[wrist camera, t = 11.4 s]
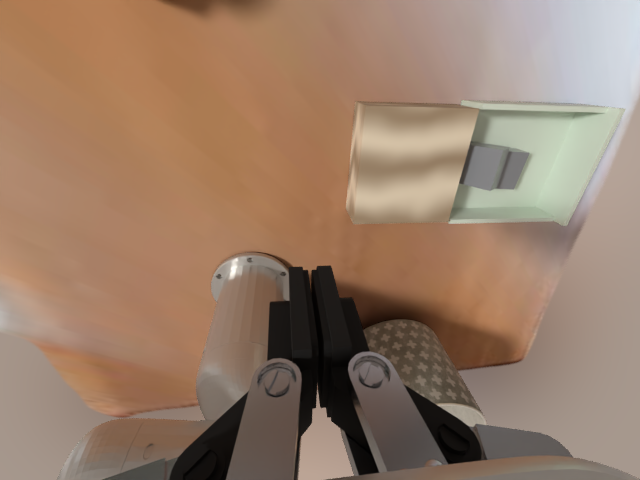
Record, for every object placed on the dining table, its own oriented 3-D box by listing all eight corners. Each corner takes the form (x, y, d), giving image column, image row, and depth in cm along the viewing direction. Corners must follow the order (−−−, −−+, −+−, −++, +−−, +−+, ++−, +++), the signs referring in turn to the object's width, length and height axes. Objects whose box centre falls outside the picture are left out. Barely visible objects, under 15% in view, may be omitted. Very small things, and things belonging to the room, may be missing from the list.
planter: (448, 316, 56) (514, 410, 40) (404, 379, 64) (444, 477, 49) (358, 298, 51) (393, 398, 36) (323, 369, 60) (338, 475, 44)
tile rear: (480, 187, 40) (470, 181, 42) (513, 189, 40) (502, 183, 43) (494, 150, 37) (483, 145, 39) (529, 152, 38) (516, 148, 40)
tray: (534, 208, 46) (566, 226, 41) (434, 210, 44) (455, 228, 39) (579, 103, 39) (625, 108, 34) (461, 100, 37) (491, 104, 32)
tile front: (451, 181, 40) (459, 177, 41) (490, 191, 37) (497, 186, 38) (460, 143, 37) (468, 140, 39) (503, 150, 34) (510, 147, 36)
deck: (431, 207, 44) (448, 222, 40) (345, 208, 42) (353, 224, 38) (456, 104, 37) (479, 108, 33) (355, 101, 35) (365, 105, 31)
